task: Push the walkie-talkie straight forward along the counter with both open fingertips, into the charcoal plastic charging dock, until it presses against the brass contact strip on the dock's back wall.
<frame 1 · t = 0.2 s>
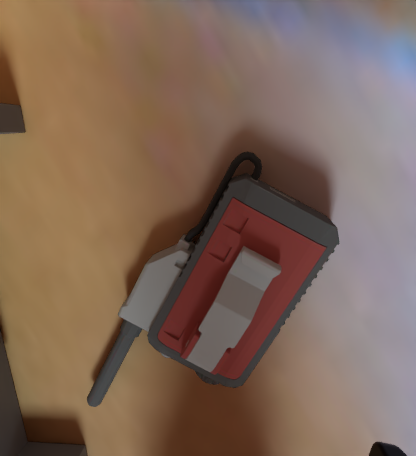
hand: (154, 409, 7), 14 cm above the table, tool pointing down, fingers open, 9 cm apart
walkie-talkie: (202, 303, 23), on the table
charging dock: (55, 308, 23), on the table
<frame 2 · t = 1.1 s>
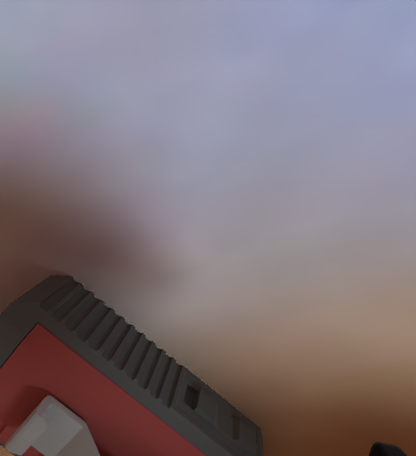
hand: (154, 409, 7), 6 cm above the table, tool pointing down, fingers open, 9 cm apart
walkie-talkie: (166, 442, 16), on the table
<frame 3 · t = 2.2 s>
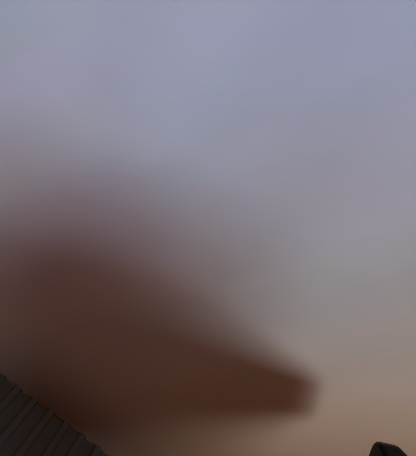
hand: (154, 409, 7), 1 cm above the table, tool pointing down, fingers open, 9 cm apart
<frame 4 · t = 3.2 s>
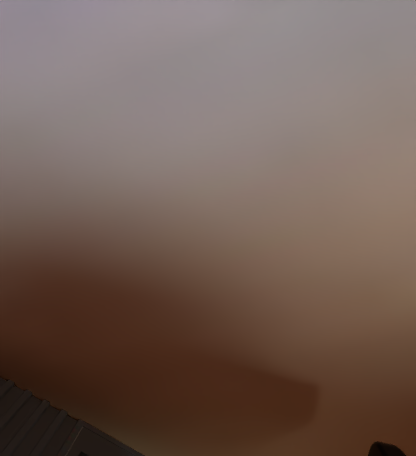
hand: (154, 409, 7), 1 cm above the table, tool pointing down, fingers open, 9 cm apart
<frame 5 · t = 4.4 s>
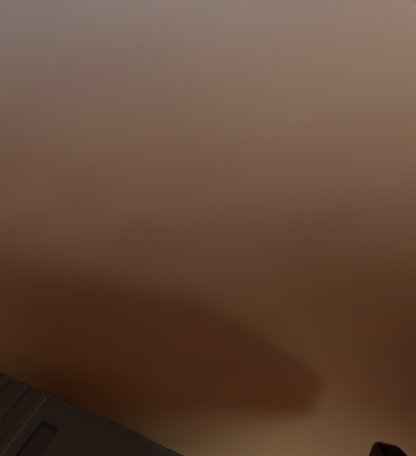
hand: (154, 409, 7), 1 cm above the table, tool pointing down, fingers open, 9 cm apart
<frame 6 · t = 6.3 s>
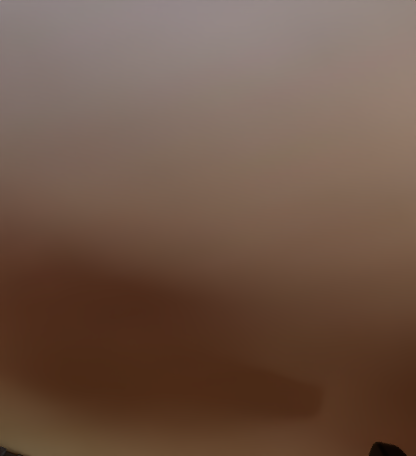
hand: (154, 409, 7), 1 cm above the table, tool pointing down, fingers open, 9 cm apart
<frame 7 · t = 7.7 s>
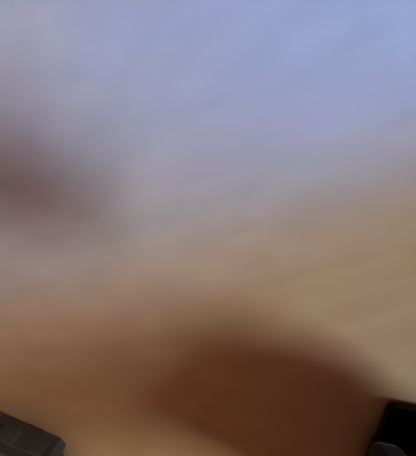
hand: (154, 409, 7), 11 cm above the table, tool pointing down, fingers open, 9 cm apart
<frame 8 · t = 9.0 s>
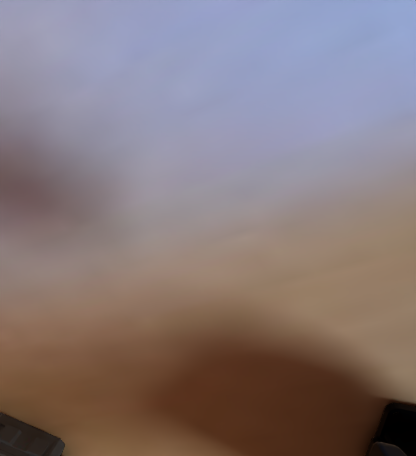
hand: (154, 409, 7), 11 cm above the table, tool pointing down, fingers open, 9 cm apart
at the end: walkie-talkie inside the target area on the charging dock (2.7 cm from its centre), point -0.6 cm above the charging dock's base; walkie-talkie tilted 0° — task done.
